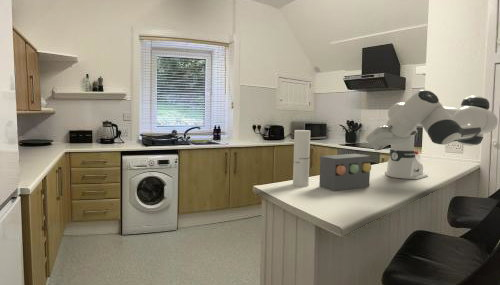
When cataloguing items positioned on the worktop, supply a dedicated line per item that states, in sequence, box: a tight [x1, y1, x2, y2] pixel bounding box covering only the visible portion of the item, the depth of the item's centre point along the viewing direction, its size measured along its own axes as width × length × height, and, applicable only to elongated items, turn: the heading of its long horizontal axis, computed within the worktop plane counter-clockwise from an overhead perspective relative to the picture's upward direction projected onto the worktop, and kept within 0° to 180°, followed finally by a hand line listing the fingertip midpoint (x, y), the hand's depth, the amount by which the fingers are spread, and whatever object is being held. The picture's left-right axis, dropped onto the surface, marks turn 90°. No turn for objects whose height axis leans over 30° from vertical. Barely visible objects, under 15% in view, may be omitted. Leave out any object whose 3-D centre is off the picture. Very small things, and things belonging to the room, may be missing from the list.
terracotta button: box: [336, 165, 346, 175], centre depth 145 cm, size 4×3×4 cm
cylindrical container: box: [292, 129, 311, 188], centre depth 154 cm, size 7×7×25 cm
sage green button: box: [349, 164, 359, 174], centre depth 149 cm, size 4×3×4 cm
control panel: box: [318, 153, 372, 192], centre depth 153 cm, size 22×9×14 cm, turn 120°
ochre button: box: [362, 162, 372, 173], centre depth 153 cm, size 4×3×4 cm
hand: (376, 149), depth 138 cm, fingers closed
